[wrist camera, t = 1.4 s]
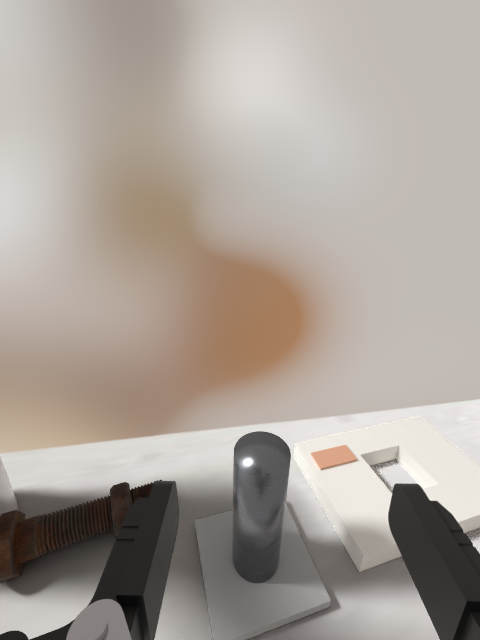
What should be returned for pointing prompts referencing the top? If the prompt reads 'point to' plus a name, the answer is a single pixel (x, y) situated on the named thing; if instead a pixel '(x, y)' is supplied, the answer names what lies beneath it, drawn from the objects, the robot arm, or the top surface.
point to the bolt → (61, 527)
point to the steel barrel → (259, 504)
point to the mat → (256, 598)
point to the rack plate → (372, 494)
